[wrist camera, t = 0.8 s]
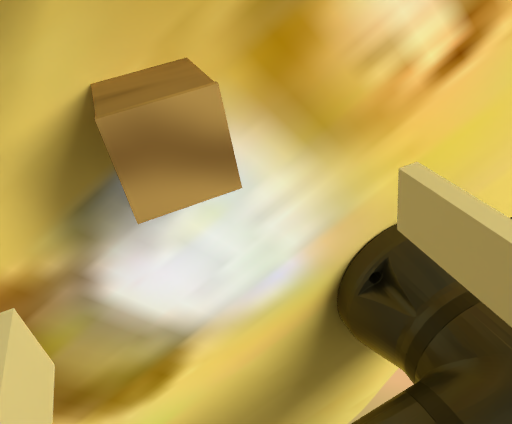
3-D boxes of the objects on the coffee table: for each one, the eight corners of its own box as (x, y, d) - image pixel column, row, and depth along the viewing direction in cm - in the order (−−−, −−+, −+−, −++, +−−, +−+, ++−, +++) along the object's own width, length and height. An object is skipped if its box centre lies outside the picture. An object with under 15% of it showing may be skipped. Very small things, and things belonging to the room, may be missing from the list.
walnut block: (210, 144, 30) (242, 188, 24) (124, 171, 29) (137, 224, 23) (187, 56, 27) (218, 83, 21) (89, 83, 25) (94, 119, 20)
